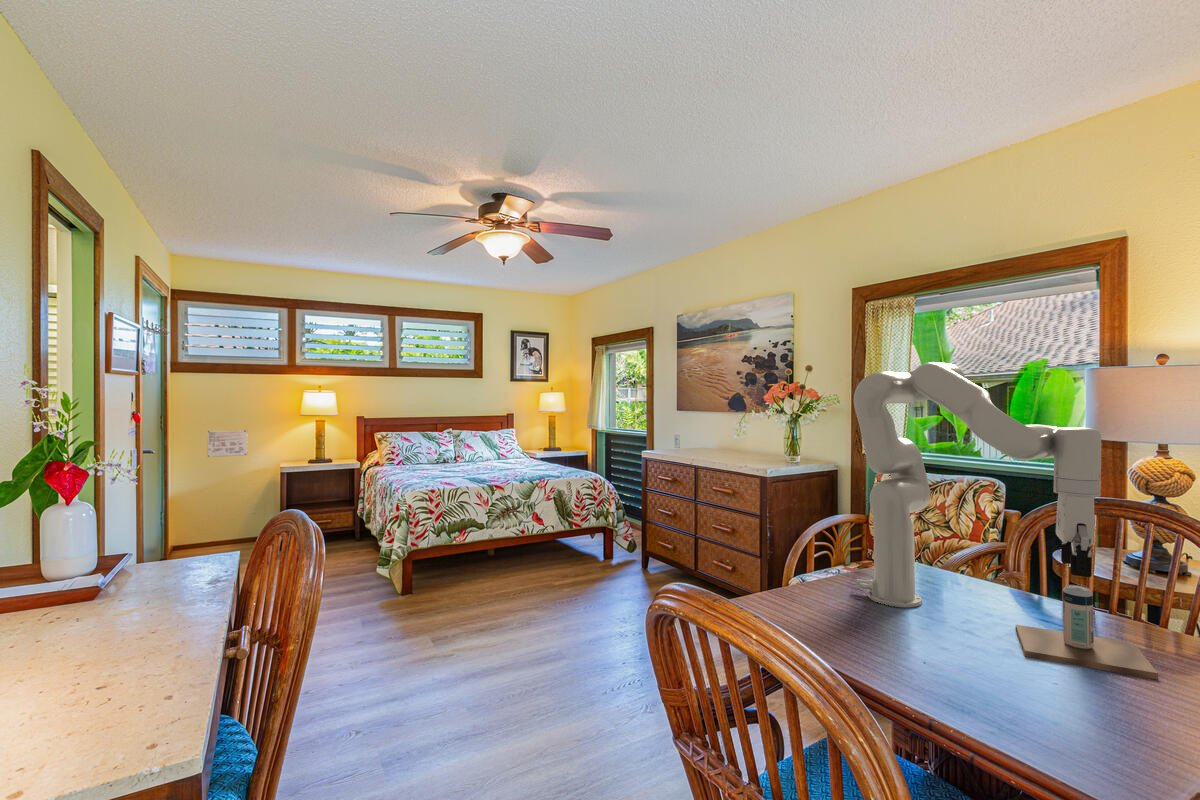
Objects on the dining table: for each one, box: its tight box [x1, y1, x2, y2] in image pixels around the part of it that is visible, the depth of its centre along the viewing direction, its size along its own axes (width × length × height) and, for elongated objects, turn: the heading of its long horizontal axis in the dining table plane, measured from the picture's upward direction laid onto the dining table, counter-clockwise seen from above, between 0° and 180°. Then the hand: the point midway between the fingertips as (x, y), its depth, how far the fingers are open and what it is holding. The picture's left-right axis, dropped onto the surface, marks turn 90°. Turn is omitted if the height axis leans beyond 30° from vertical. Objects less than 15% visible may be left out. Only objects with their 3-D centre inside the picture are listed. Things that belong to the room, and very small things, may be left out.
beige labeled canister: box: [1062, 584, 1095, 650], centre depth 119 cm, size 5×5×12 cm
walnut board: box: [1015, 624, 1159, 680], centre depth 119 cm, size 20×16×1 cm
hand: (1075, 569), depth 119 cm, fingers open, 9 cm apart
